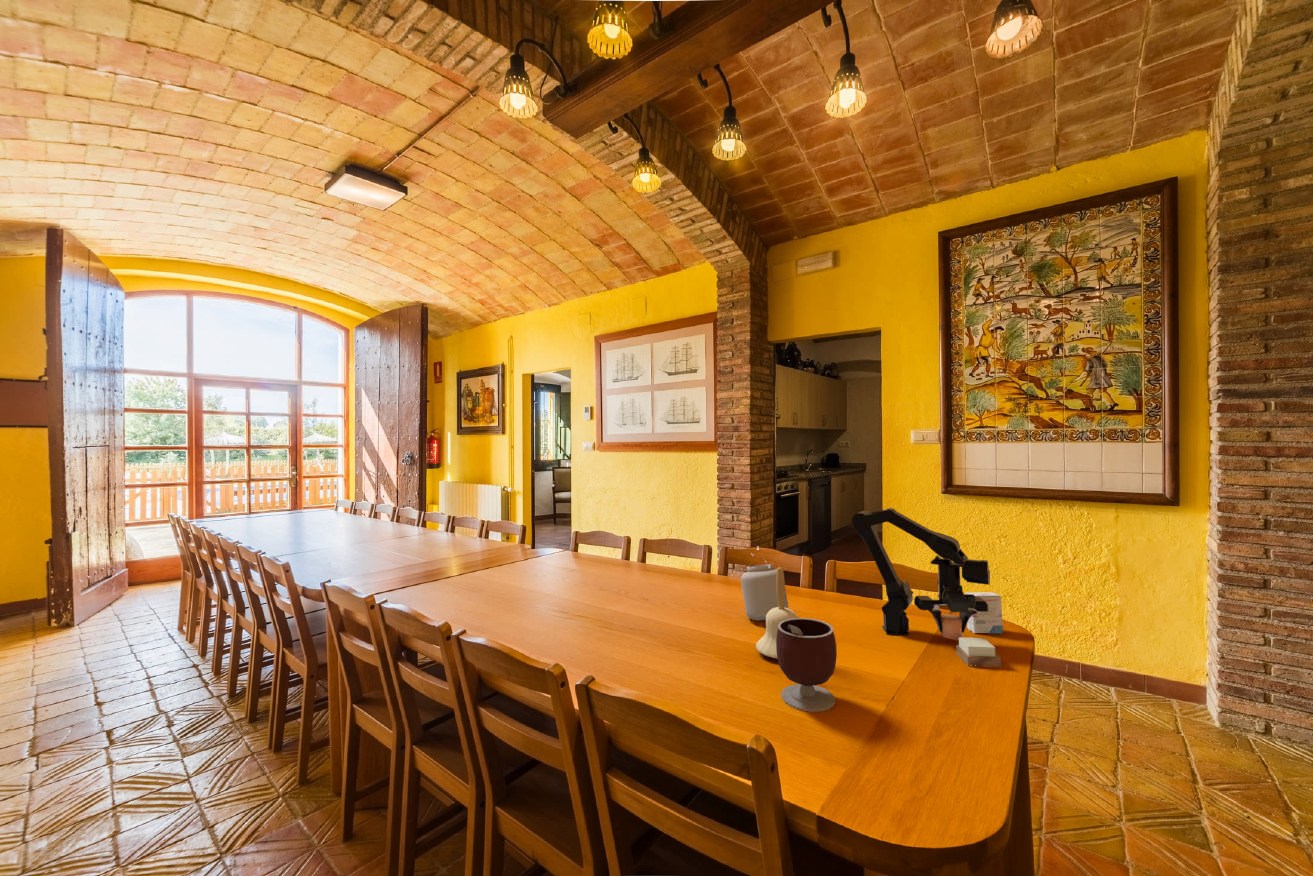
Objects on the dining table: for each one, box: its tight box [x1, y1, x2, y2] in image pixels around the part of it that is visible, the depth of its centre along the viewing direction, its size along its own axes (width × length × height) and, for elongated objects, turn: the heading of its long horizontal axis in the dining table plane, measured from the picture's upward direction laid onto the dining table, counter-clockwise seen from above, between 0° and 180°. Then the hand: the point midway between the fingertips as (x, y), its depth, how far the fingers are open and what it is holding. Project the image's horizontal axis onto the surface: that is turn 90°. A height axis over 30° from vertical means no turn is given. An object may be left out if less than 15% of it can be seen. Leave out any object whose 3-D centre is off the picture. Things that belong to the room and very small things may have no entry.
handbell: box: [755, 566, 798, 659], centre depth 150 cm, size 15×15×25 cm
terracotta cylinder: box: [940, 613, 963, 640], centre depth 155 cm, size 6×6×6 cm
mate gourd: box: [776, 617, 838, 713], centre depth 123 cm, size 16×14×20 cm
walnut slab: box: [956, 644, 1002, 668], centre depth 141 cm, size 8×8×3 cm
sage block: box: [958, 636, 996, 657], centre depth 141 cm, size 6×6×2 cm
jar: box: [740, 545, 790, 621], centre depth 181 cm, size 19×15×25 cm
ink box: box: [964, 591, 1004, 635], centre depth 162 cm, size 9×5×12 cm, turn 84°
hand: (951, 632), depth 155 cm, fingers closed on terracotta cylinder, 5 cm apart
